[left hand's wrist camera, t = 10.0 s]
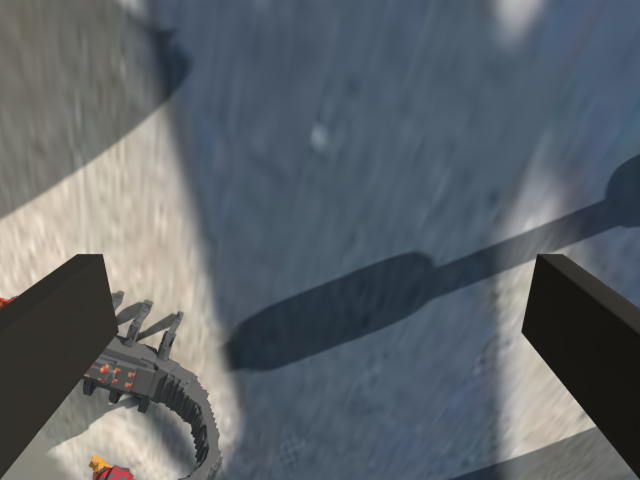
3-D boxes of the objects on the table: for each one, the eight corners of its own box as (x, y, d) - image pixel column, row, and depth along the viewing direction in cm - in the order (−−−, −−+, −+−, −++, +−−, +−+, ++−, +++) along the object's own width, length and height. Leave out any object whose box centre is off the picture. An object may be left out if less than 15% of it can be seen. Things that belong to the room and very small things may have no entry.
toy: (223, 422, 52) (175, 591, 34) (4, 353, 48) (-172, 504, 31) (259, 339, 47) (225, 486, 30) (21, 256, 43) (-173, 369, 26)
